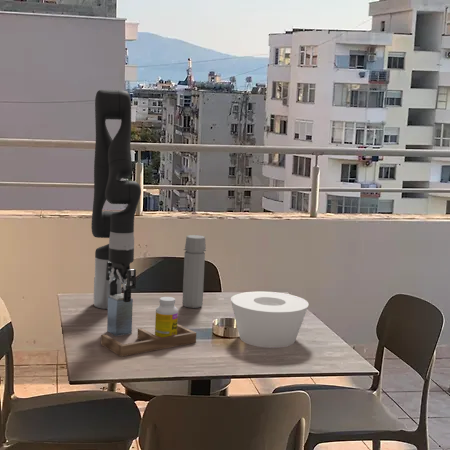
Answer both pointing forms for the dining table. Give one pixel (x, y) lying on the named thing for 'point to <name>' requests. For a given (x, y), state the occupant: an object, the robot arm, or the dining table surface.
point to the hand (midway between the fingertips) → (120, 298)
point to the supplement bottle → (166, 318)
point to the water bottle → (194, 271)
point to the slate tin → (119, 315)
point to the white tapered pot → (268, 318)
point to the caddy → (149, 342)
